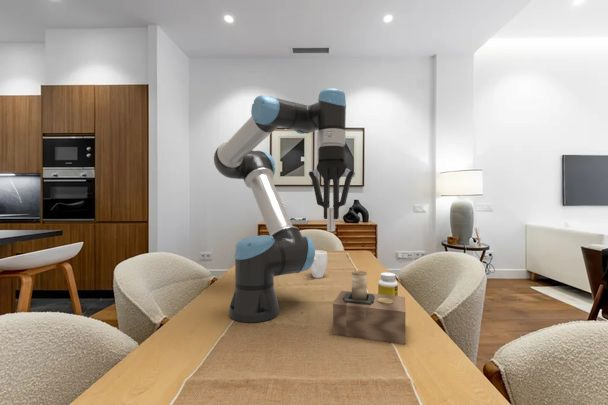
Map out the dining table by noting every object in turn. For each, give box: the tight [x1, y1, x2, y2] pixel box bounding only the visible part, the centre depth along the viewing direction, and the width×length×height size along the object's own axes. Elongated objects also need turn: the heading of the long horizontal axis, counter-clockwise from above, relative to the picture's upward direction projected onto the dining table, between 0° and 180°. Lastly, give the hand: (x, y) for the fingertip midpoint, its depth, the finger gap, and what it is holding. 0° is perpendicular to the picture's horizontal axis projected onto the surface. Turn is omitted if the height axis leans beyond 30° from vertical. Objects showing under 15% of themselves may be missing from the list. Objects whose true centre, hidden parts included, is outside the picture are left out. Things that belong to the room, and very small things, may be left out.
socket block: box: [332, 290, 407, 345], centre depth 84 cm, size 18×12×9 cm, turn 73°
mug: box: [309, 249, 328, 279], centre depth 138 cm, size 12×8×11 cm
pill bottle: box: [377, 272, 399, 296], centre depth 101 cm, size 6×6×11 cm
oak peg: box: [351, 270, 368, 301], centre depth 85 cm, size 4×4×8 cm
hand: (331, 230), depth 87 cm, fingers closed
